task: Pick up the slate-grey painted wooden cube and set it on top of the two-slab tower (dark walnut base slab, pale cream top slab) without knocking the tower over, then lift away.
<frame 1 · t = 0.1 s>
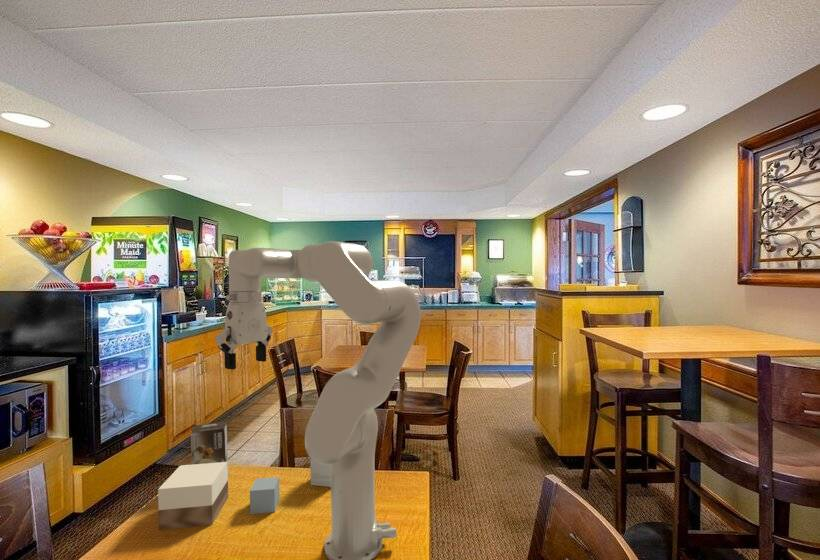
hand: (246, 364, 101), 37 cm above the table, tool pointing down, fingers open, 9 cm apart
tower top block: (195, 494, 100), point 5 cm above the table, touching tower base block
tower base block: (196, 513, 100), on the table, touching tower top block
stack block: (265, 506, 103), on the table
coffee box: (210, 481, 116), on the table
supplement box: (327, 480, 115), on the table
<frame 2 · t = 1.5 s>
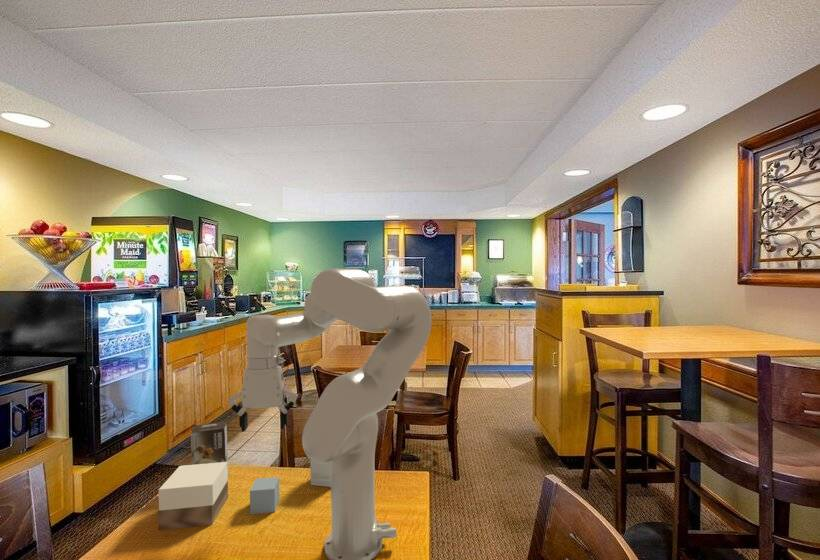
hand: (264, 428, 102), 20 cm above the table, tool pointing down, fingers open, 9 cm apart
tower top block: (195, 494, 100), point 5 cm above the table
tower base block: (195, 513, 100), on the table
everything else where it was.
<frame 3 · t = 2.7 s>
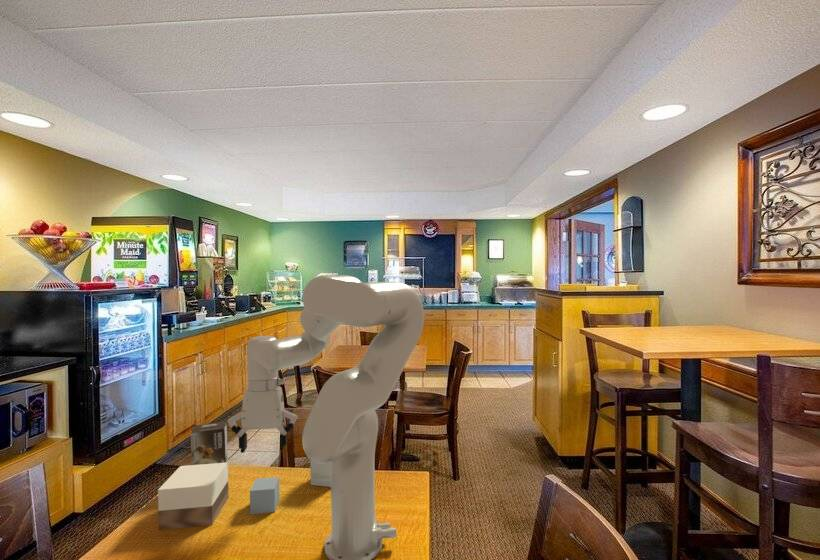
hand: (263, 449, 103), 15 cm above the table, tool pointing down, fingers open, 9 cm apart
tower top block: (195, 494, 100), point 5 cm above the table, touching tower base block
tower base block: (196, 514, 100), on the table, touching tower top block
everything else where it was.
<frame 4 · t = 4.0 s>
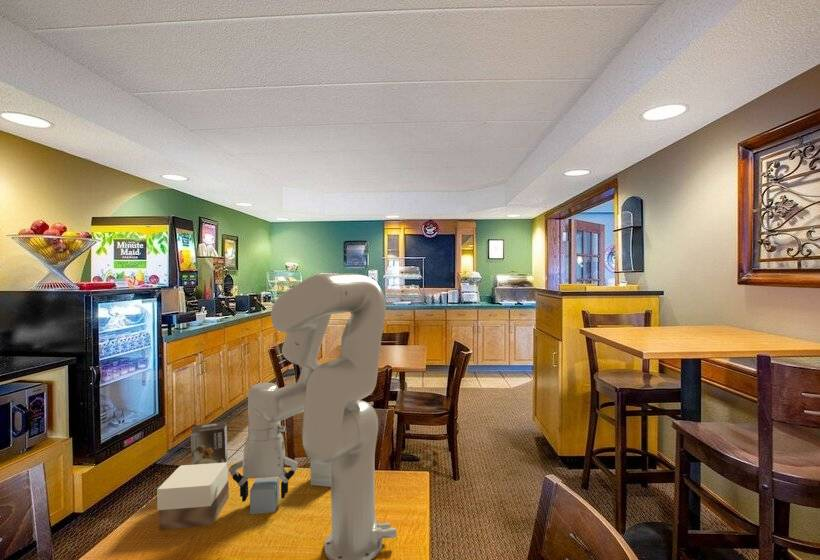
hand: (264, 497, 103), 2 cm above the table, tool pointing down, fingers open, 9 cm apart
nothing on the table moved.
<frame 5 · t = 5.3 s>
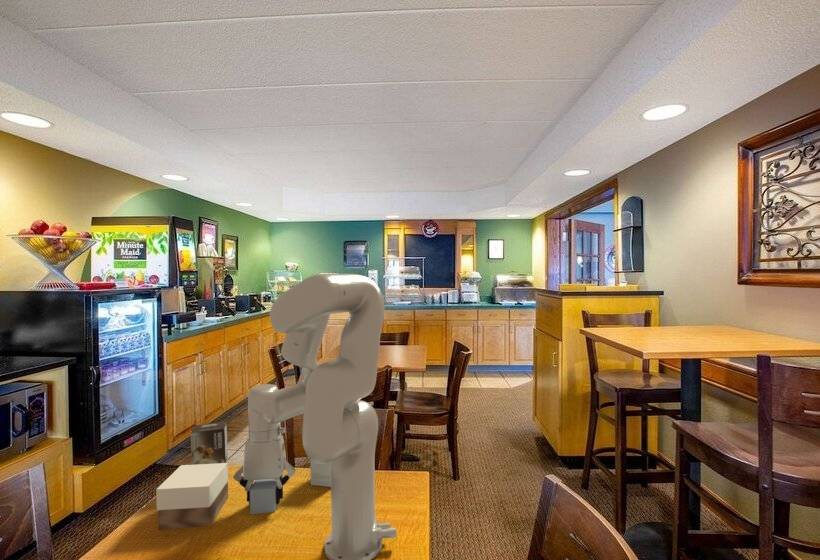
hand: (265, 501, 103), 1 cm above the table, tool pointing down, fingers closed on stack block, 6 cm apart
stack block: (265, 506, 103), on the table, touching gripper
everything else where it was.
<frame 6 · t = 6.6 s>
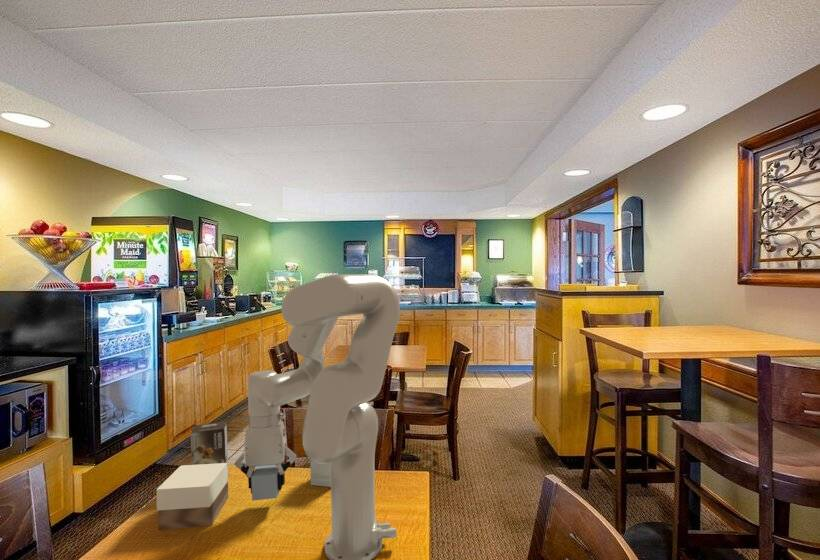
hand: (267, 488, 102), 5 cm above the table, tool pointing down, fingers closed on stack block, 6 cm apart
tower top block: (194, 494, 100), point 5 cm above the table
tower base block: (195, 514, 100), on the table
stack block: (267, 493, 102), point 4 cm above the table, touching gripper
everything else where it was.
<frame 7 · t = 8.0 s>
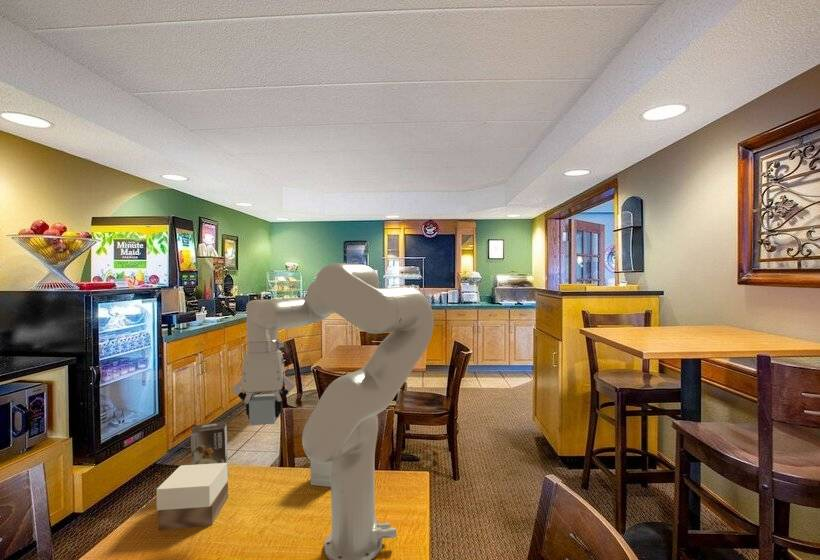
hand: (264, 415, 102), 24 cm above the table, tool pointing down, fingers closed on stack block, 6 cm apart
tower top block: (194, 494, 100), point 5 cm above the table, touching tower base block
tower base block: (195, 514, 100), on the table, touching tower top block
stack block: (264, 420, 102), point 22 cm above the table, touching gripper
everything else where it was.
when the fingers open (12 cm above the table, at t = 14.7 s): stack block drops 2 cm, resting on tower top block.
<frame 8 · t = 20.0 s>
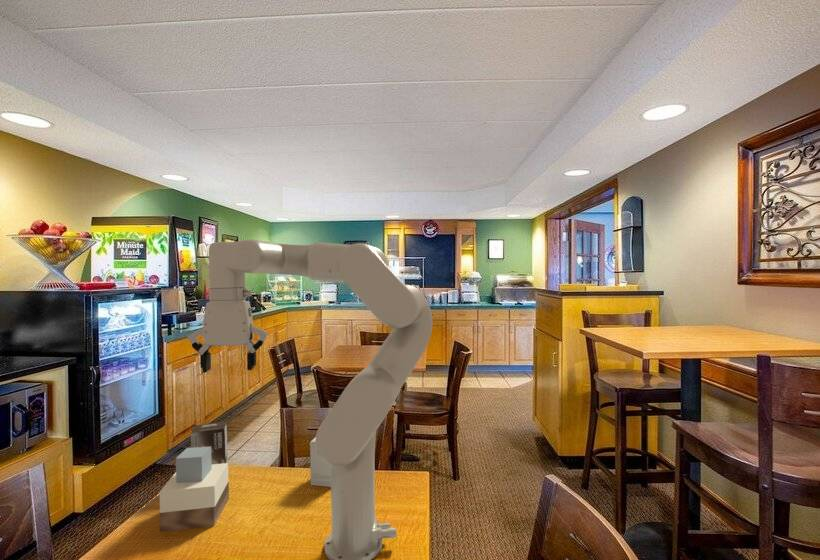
hand: (229, 370, 91), 38 cm above the table, tool pointing down, fingers open, 9 cm apart
tower top block: (196, 496, 99), point 5 cm above the table, touching stack block
tower base block: (196, 515, 100), on the table
stack block: (194, 475, 100), point 10 cm above the table, touching tower top block
everything else where it was.
at the end: stack block 0.4 cm off-centre on the tower base block, point 10.0 cm above the tower base block's base; tower top block 0.2 cm from the tower base block (horizontally); stack block tilted 0° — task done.
